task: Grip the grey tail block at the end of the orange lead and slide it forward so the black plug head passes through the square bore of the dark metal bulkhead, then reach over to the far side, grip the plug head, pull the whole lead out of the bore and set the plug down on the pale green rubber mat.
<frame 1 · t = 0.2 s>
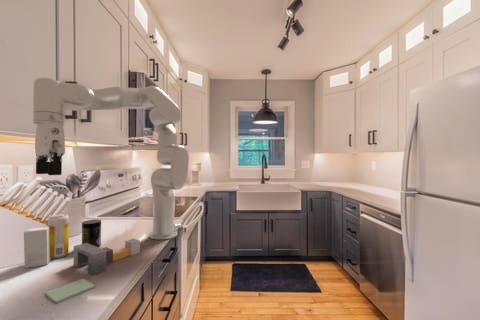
hand: (48, 174, 74), 31 cm above the countertop, fingers open, 9 cm apart
beer can: (58, 256, 87), on the countertop
supplement container: (91, 247, 96), on the countertop
mat: (70, 290, 64), on the countertop
plug: (104, 262, 82), on the countertop
skincare box: (37, 265, 80), on the countertop
bulkhead: (89, 267, 78), on the countertop
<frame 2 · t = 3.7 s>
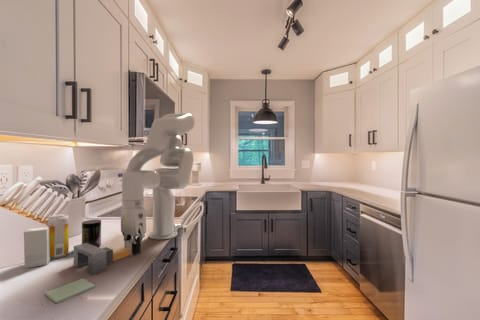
hand: (132, 251, 90), 0 cm above the countertop, fingers closed on plug, 4 cm apart
plug: (104, 262, 82), on the countertop, touching gripper
everything else where it was.
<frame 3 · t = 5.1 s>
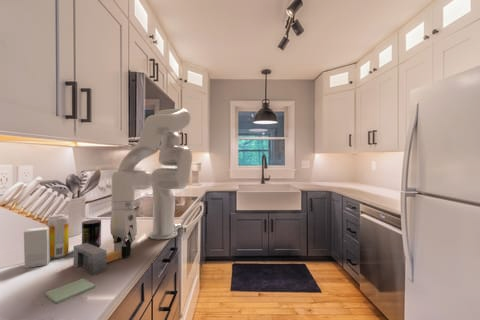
hand: (122, 254, 87), 1 cm above the countertop, fingers closed on plug, 4 cm apart
plug: (92, 266, 78), on the countertop, touching gripper
everything else where it was.
when the fingers open (1 cm above the countertop, at t = 6.7 s): plug stays where it is, on the countertop.
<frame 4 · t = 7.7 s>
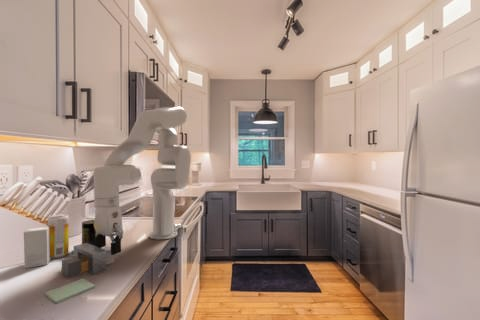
hand: (108, 250, 83), 4 cm above the countertop, fingers open, 9 cm apart
plug: (71, 274, 73), on the countertop
everything else where it was.
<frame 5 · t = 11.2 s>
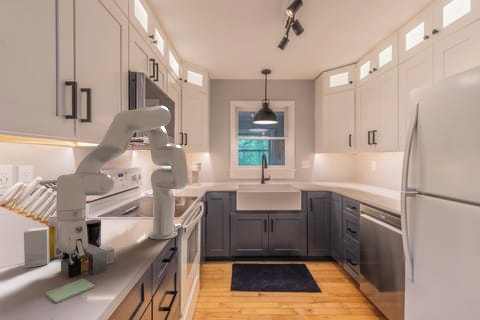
hand: (70, 273, 73), 0 cm above the countertop, fingers closed on plug, 4 cm apart
plug: (71, 274, 73), on the countertop, touching gripper
everything else where it was.
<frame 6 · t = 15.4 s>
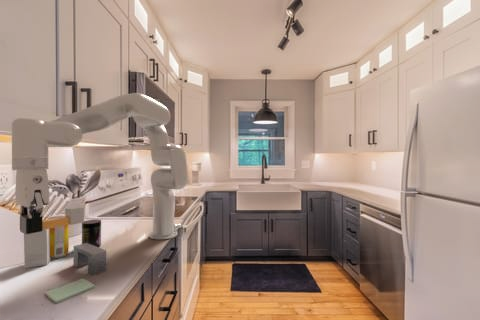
hand: (31, 230, 65), 16 cm above the countertop, fingers closed on plug, 4 cm apart
plug: (31, 231, 65), point 16 cm above the countertop, touching gripper
everything else where it was.
when the fingers open (2 cm above the countertop, at t = 19.8 s): plug drops 1 cm, resting on mat.
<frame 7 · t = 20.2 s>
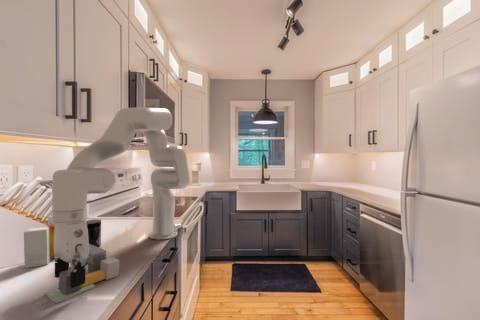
hand: (69, 280, 63), 3 cm above the countertop, fingers open, 9 cm apart
plug: (69, 289, 63), point 1 cm above the countertop, touching mat
everything else where it was.
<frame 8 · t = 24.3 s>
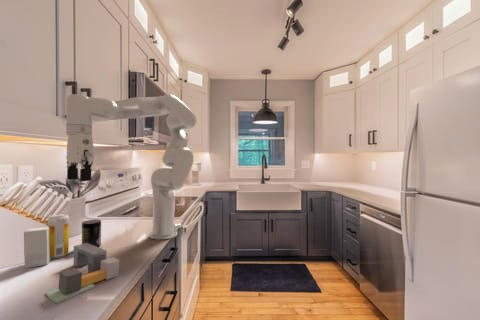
hand: (79, 179, 83), 28 cm above the countertop, fingers open, 9 cm apart
nothing on the countertop moved.
at the end: plug inside the target area on the mat (0.8 cm from its centre), point 0.8 cm above the mat's base; plug touching mat, countertop; the gripper is holding nothing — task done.
